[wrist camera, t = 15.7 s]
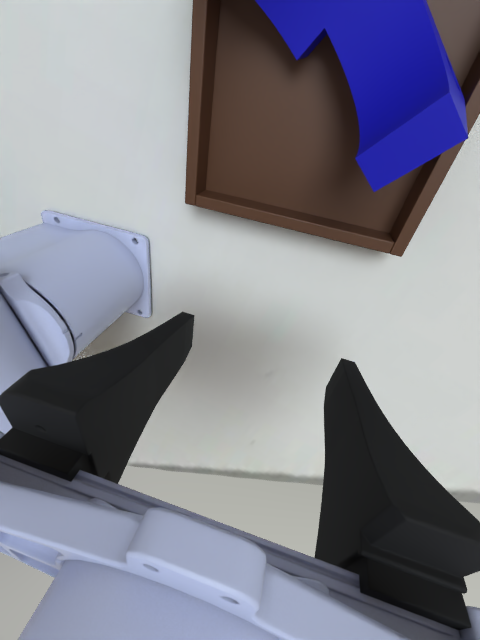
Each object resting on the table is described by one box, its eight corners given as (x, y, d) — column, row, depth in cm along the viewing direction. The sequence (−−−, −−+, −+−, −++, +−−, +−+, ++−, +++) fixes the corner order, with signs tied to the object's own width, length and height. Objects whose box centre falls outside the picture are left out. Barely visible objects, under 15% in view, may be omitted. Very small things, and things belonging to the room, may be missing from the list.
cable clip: (228, -86, 12) (131, -124, 8) (317, -279, 9) (218, -480, 5) (366, 164, 16) (339, 212, 12) (464, 99, 12) (468, 138, 9)
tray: (198, 196, 19) (184, 203, 18) (231, -301, 10) (207, -406, 8) (393, 243, 18) (401, 257, 16) (665, -288, 8) (768, -414, 6)
